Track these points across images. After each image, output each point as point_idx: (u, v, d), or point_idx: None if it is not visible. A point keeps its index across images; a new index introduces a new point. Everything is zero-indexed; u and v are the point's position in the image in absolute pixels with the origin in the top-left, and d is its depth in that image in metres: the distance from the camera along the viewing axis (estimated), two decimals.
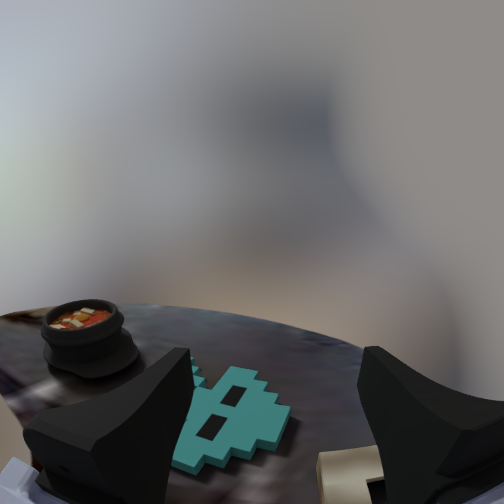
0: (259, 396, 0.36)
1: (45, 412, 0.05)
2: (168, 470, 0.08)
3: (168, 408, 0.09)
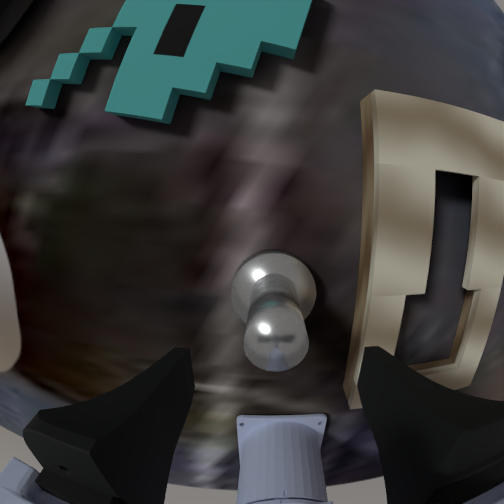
0: None
1: (45, 412, 0.05)
2: (168, 470, 0.08)
3: (168, 408, 0.09)
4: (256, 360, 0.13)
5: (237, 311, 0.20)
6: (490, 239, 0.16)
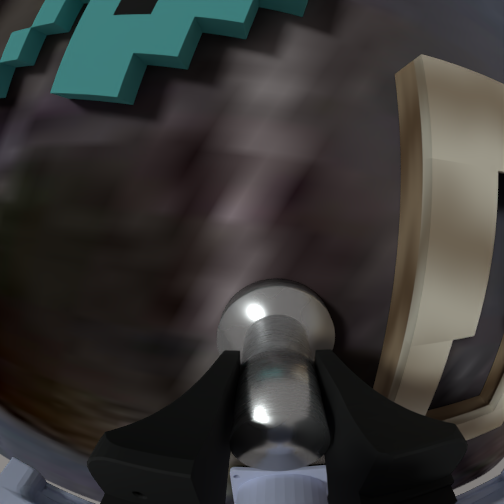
0: None
1: (113, 434, 0.05)
2: (226, 477, 0.08)
3: (228, 413, 0.08)
4: (249, 461, 0.08)
5: None
6: None
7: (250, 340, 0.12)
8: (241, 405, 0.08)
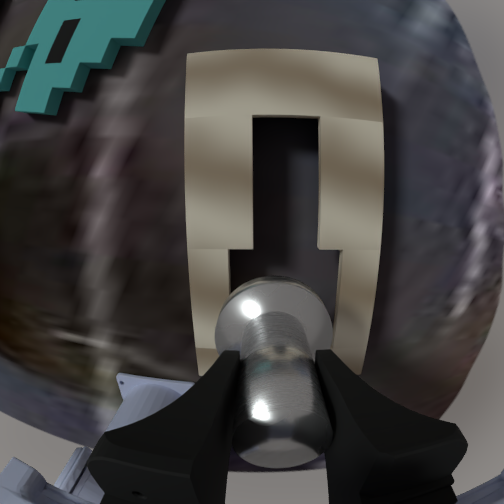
0: None
1: (113, 434, 0.05)
2: (226, 477, 0.08)
3: (228, 414, 0.08)
4: (252, 458, 0.08)
5: None
6: (348, 188, 0.17)
7: (248, 337, 0.12)
8: (242, 402, 0.08)
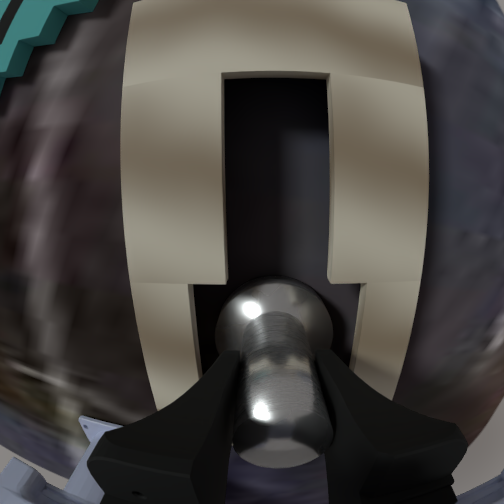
0: None
1: (113, 434, 0.05)
2: (226, 477, 0.08)
3: (228, 414, 0.08)
4: (252, 458, 0.08)
5: None
6: (376, 186, 0.10)
7: (249, 337, 0.12)
8: (243, 402, 0.08)
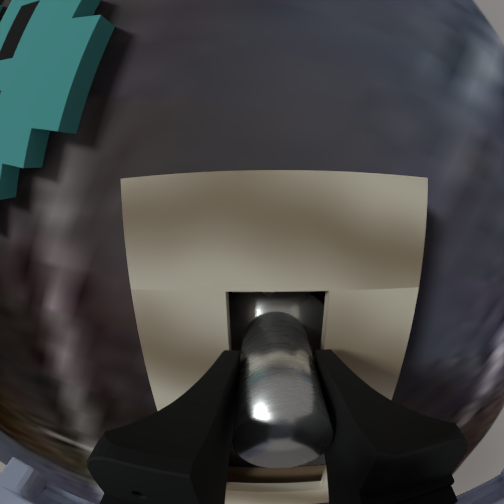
0: (53, 9, 0.09)
1: (113, 434, 0.05)
2: (226, 477, 0.08)
3: (228, 414, 0.08)
4: (252, 458, 0.08)
5: None
6: None
7: (249, 338, 0.12)
8: (242, 402, 0.08)
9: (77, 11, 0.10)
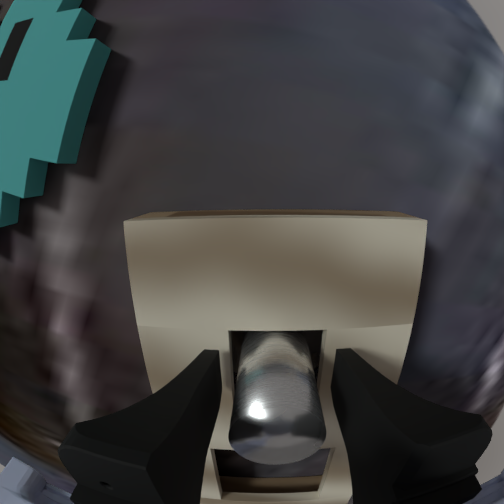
0: (47, 29, 0.10)
1: (82, 425, 0.05)
2: (202, 475, 0.08)
3: (203, 412, 0.08)
4: (248, 454, 0.08)
5: None
6: None
7: (248, 337, 0.12)
8: (239, 399, 0.08)
9: (71, 32, 0.10)
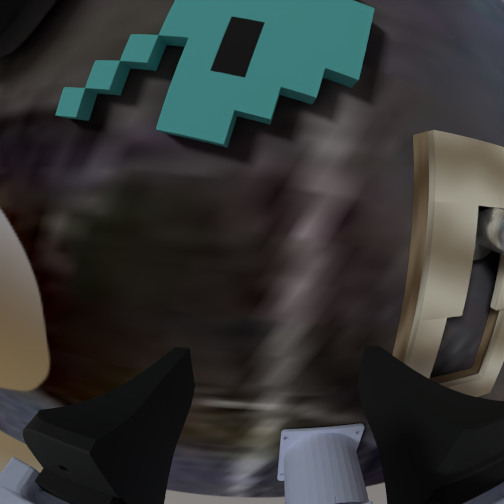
0: None
1: (45, 412, 0.05)
2: (168, 470, 0.08)
3: (168, 408, 0.09)
4: None
5: None
6: None
7: (481, 213, 0.16)
8: None
9: None
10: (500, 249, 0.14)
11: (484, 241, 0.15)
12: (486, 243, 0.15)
